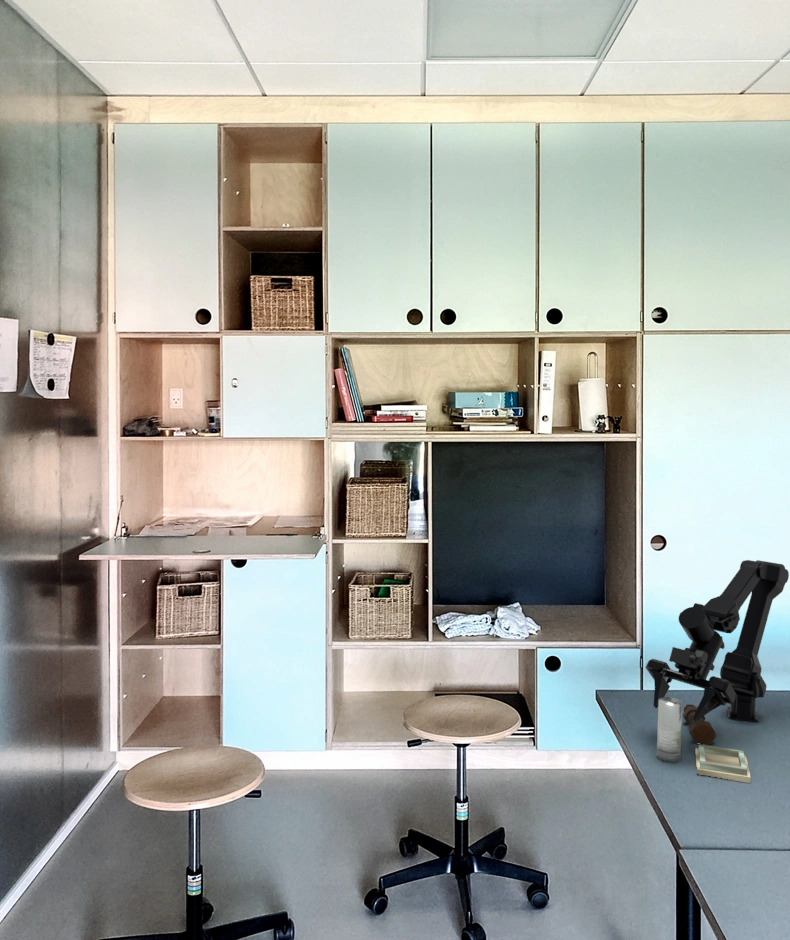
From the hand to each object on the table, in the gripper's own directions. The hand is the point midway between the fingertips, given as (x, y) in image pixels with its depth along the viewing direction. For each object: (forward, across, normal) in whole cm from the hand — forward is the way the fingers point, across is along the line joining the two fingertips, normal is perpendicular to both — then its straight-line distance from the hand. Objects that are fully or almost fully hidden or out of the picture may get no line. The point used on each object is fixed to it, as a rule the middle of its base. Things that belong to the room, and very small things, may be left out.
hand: (674, 713), depth 162 cm
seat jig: (+5, +10, +8) cm, 14 cm away
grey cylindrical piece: (+8, 0, +5) cm, 9 cm away
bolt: (-4, -3, +18) cm, 19 cm away
